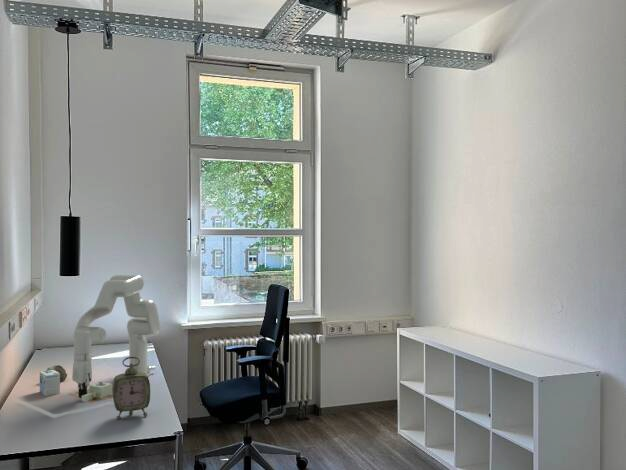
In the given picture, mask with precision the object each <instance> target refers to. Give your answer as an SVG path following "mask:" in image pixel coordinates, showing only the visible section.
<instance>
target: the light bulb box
mask: <svg viewBox="0 0 626 470" xmlns="http://www.w3.org/2000/svg"><path fill="white" fill-rule="evenodd" d="M60 384H61V382H60V373H58V372H57V371H55V370H49V371H46V370H44V371H39V393H41V394H42V395H44V396H45V397H48V396H51V395H52V396H53V395H58V394H60V393H61V392H60V391H61V385H60Z"/></svg>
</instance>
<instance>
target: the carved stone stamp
mask: <svg viewBox="0 0 626 470" xmlns="http://www.w3.org/2000/svg"><path fill="white" fill-rule="evenodd" d="M49 370H55V371H57V372H58V373H60V383H63V382H64V381H65V380H66V379H67V378H68V373H67V372H66V369H65V368H64V367H63V366H62V365H60V364H58V365H53V366H50V367H47V369H46V370H45V371H49Z"/></svg>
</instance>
